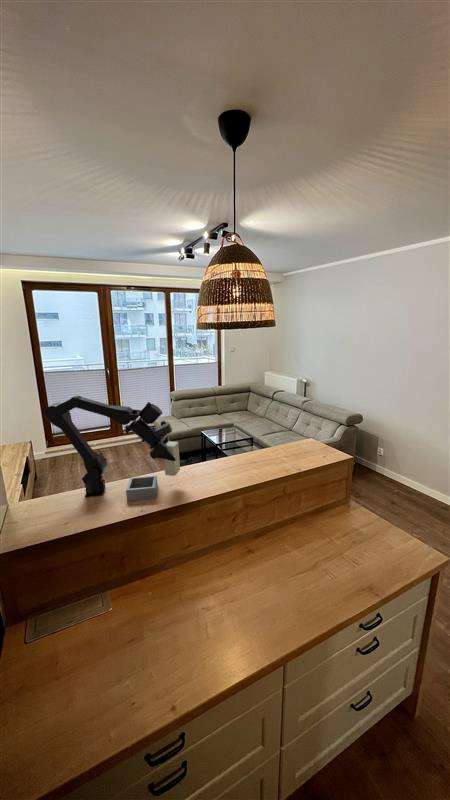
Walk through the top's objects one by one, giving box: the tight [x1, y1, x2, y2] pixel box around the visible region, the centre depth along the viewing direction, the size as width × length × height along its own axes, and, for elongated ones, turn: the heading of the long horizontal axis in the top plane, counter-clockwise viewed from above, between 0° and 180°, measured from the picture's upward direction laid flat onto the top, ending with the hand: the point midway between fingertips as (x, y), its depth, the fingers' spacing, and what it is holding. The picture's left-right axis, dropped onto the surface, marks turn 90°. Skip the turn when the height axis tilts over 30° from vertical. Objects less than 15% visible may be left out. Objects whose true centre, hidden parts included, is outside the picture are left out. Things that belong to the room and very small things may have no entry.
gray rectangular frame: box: [125, 475, 158, 502], centre depth 126 cm, size 10×10×4 cm
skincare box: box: [163, 441, 181, 477], centre depth 128 cm, size 6×4×12 cm
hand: (175, 456), depth 128 cm, fingers closed on skincare box, 7 cm apart
